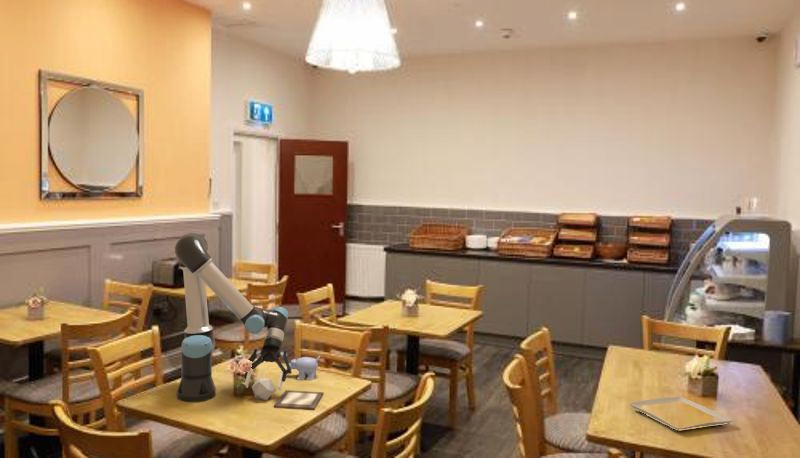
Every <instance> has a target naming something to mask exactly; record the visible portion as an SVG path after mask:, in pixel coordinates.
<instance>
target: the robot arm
mask: <svg viewBox="0 0 800 458" xmlns="http://www.w3.org/2000/svg"><path fill="white" fill-rule="evenodd" d="M208 250H209V244H208V241H207V239H206V238H205V237H204V236H203V235H201V234H199V233H197V232H196V233H195V232H190V233H189V232H188V233H186V234H184V235H182V236H181V237H180V238H179V239H178V240H177V242H176V243H175V246H174V254H175V257H176V258H177V259H178V267H179V269H181V270H182V272H183V283H184V296H185V297H184V298H185V308H186V309H185V310H186V312H185V313H186V322H187V323H186V324H187V327H186V328H185V329H184V333H183V335H184V339H183V340H182V342H181V347H180V351H181V378H180V382H179V384H178V387H177V390H176V398H177V399H178V400H179V401H182V402H189V403H191V402H192V403H195V402H196V403H197V402H203V401H207V400H208V401H209V400H211V399H213V398H214V397H215V396H216V395H217V389H216V386H215V382H214V379H213V375H212V371H213V370H212V368H213V367H212V366H213V365H212V364H213V363H212V362H213V360H212V359H213V353H214V351H215V349H216V340H215V337H214V327H213V326H212V325H211V324H210V323H209V320H210V319H209V309H208V297H207V296H208V295H207V287H208V288H209V289H210V290H211V291H212V293H214V295H216V296H217V297H218V299H220V300H221V302H222V303H223V304H224V305H225V307H227V308H228V309H229V310H230V311H231V312H232V313H233V314H234V316H236V318H238V320H239V321H240V322H241V323H242V324H243V325H244V328H245V329H246V331H247V333H249V334H252V335H257V334H259V333H261V332H262V331H263V330H264V328H266V332H265V337H264V341H263V345H262V349H261V350H258V349H257V348H255V349H253V352H252V354H251V355H250V357H248V359H247V360H250V361H252V362H253V363H252V367H251V368H252V369H253V370H255V369H256V368H257V367H258V366H259V365H261V364H263V363H264V362H266V363H268V362H270V363H274V362H275V363H276V364H277V366H278V367H279V369H280V370H281V372H280V375H279V380H278V385H277V388H278V390H279V391H282V387H283V383H284V382H286V381H287V379H286V378H287V375H291V374H292V369H291V368H290V365H289V363H290V362H289V359H288V352H287V350H284V351H282V347H283V340H284V337H285V332H286V327H287V324H288V317H289V312H288V310H287V309H286V308H284V307H281V306H274V307H273V308H272V309H271V310H269V309H265V308H262V307H258V306H254V305H252V303H250V301H248V299H247V298H246V297H245V296H244V295H243V294H242V293H241V292H240V291H239V290H238V288H237V287H236V286H235V285H234V284H233V283H232V282H231V281H230V280H229V279H228V278H227V277H226V276H225V274H224V273H223V272H222V271H221V270H220V269H219V268H218V267H217V266H216V265H215V263H214V262H213V258H212V256H211V255H210V253H208ZM280 357H282V359H284V362H285V367H286V366H287V367H286V368H285V367H284V365H283V364H282V363H281V361H280V360H279V358H280ZM245 372H246V371H245ZM243 377H244V380H245V382H244V387H245V388H246V389H248V388H249V384H250V381H251V377H252V371H250V370H248V372H246V373H244V375H243Z"/></svg>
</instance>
